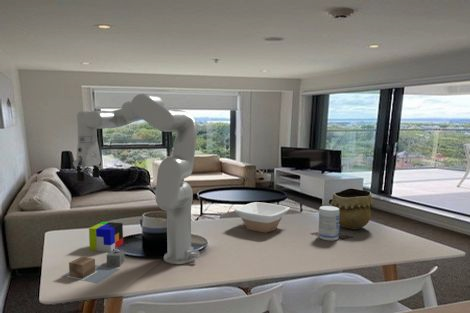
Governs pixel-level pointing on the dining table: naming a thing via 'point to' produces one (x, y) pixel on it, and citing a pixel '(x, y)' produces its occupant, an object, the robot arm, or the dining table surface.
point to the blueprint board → (96, 274)
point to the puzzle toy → (106, 236)
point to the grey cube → (115, 258)
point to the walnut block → (82, 267)
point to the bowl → (261, 215)
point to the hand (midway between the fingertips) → (88, 179)
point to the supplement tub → (328, 223)
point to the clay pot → (353, 207)
